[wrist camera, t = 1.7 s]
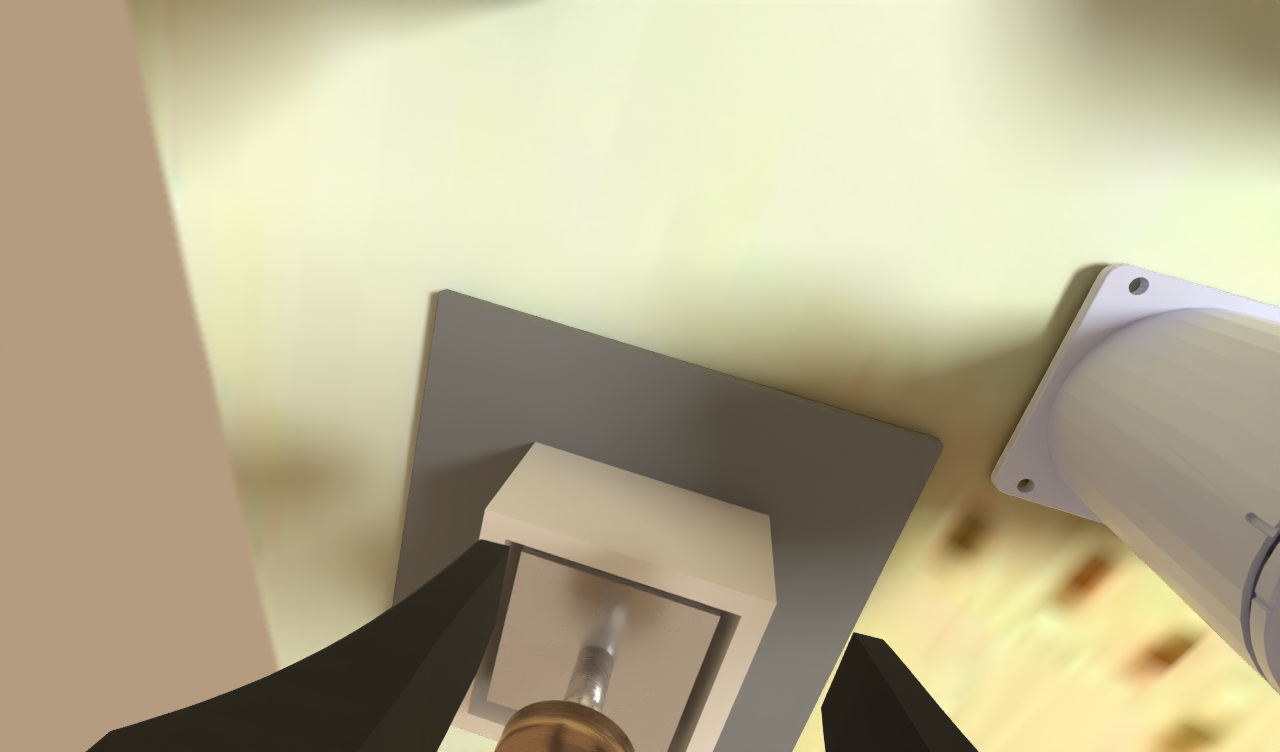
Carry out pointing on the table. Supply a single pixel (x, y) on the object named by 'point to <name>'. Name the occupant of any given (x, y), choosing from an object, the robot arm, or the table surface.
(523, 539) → the press
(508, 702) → the plunger
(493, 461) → the mat
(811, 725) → the table surface
